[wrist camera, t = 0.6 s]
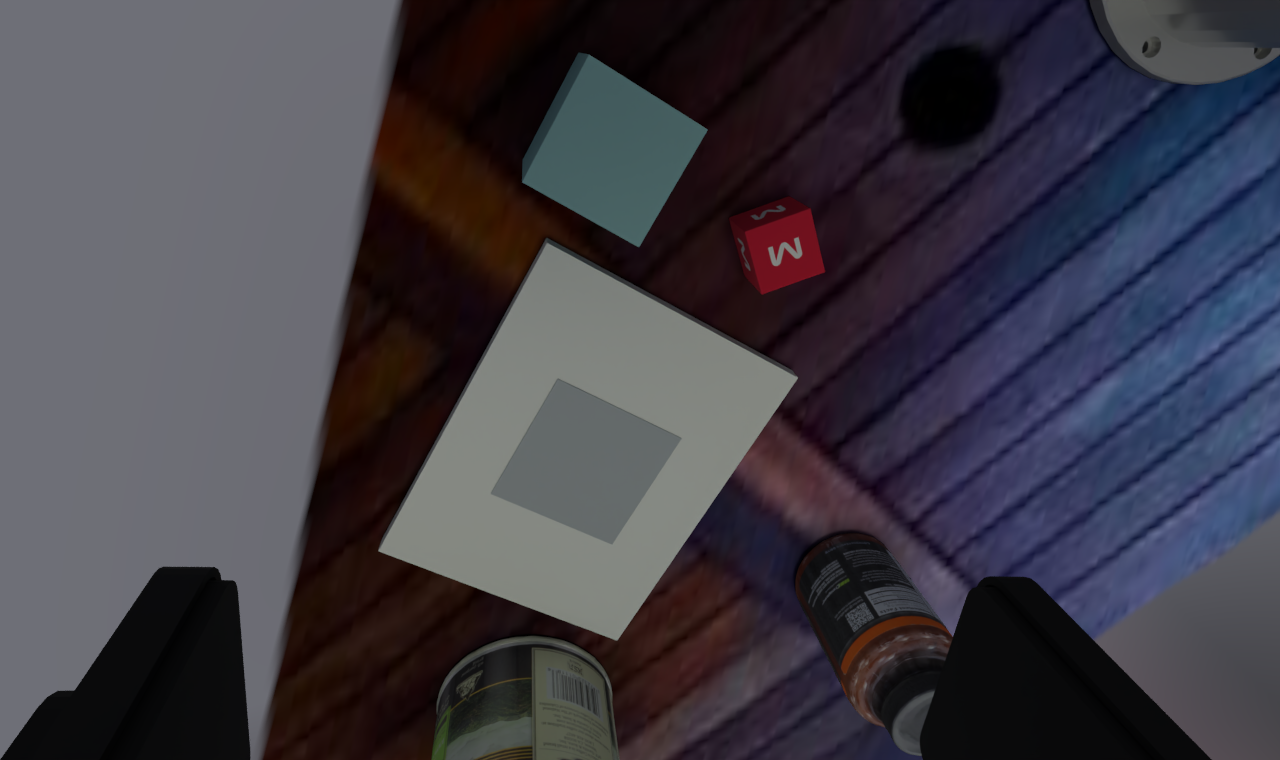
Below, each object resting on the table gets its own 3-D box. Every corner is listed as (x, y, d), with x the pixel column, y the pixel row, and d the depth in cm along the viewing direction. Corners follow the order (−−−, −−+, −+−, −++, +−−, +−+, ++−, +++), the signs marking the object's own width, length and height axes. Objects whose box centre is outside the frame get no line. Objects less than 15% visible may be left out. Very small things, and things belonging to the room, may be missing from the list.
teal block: (578, 52, 33) (589, 54, 27) (678, 115, 34) (707, 129, 29) (522, 159, 34) (522, 182, 29) (621, 216, 36) (638, 247, 30)
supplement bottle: (862, 621, 47) (956, 784, 37) (775, 601, 46) (847, 764, 35) (908, 541, 45) (1022, 688, 35) (818, 517, 44) (909, 664, 33)
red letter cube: (744, 276, 38) (761, 294, 35) (728, 217, 36) (744, 231, 34) (803, 255, 38) (825, 272, 35) (789, 195, 36) (810, 208, 34)
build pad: (546, 237, 35) (547, 243, 34) (792, 370, 40) (799, 378, 39) (381, 539, 40) (378, 552, 39) (615, 628, 45) (617, 641, 44)
